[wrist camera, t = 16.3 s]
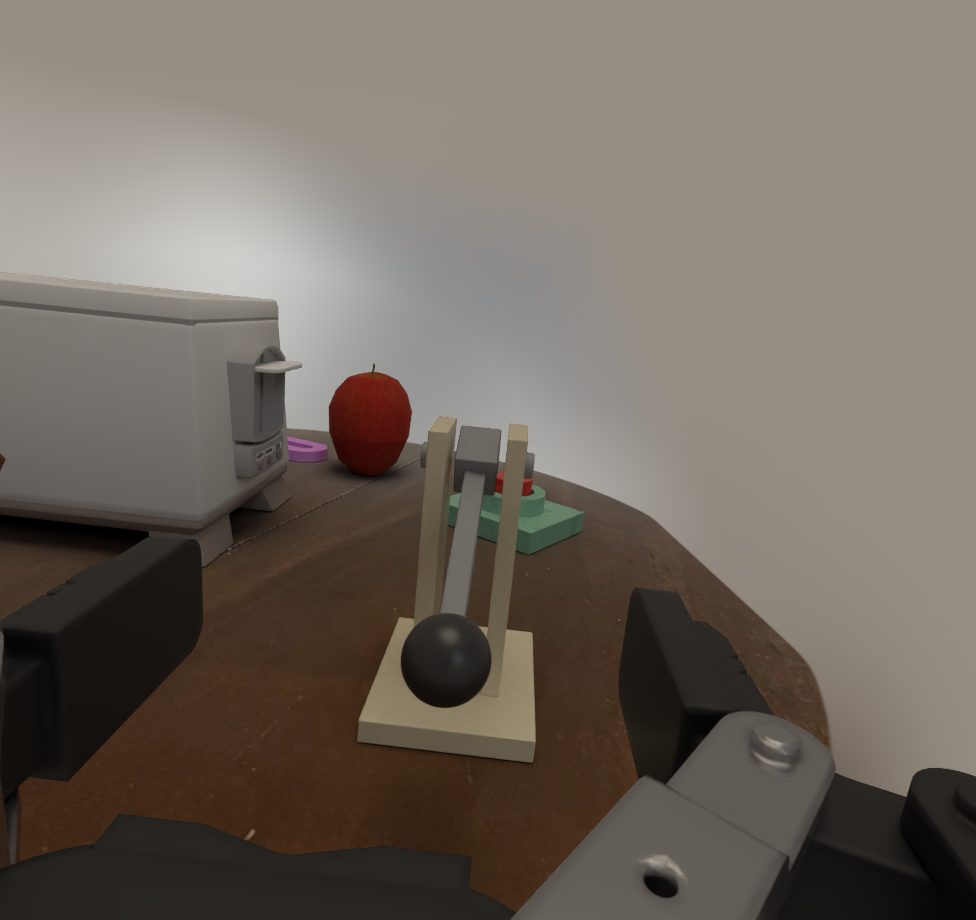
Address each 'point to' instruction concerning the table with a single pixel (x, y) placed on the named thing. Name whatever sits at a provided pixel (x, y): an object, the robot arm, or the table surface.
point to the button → (526, 484)
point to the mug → (1, 461)
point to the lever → (456, 590)
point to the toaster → (140, 407)
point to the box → (526, 520)
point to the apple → (369, 422)
